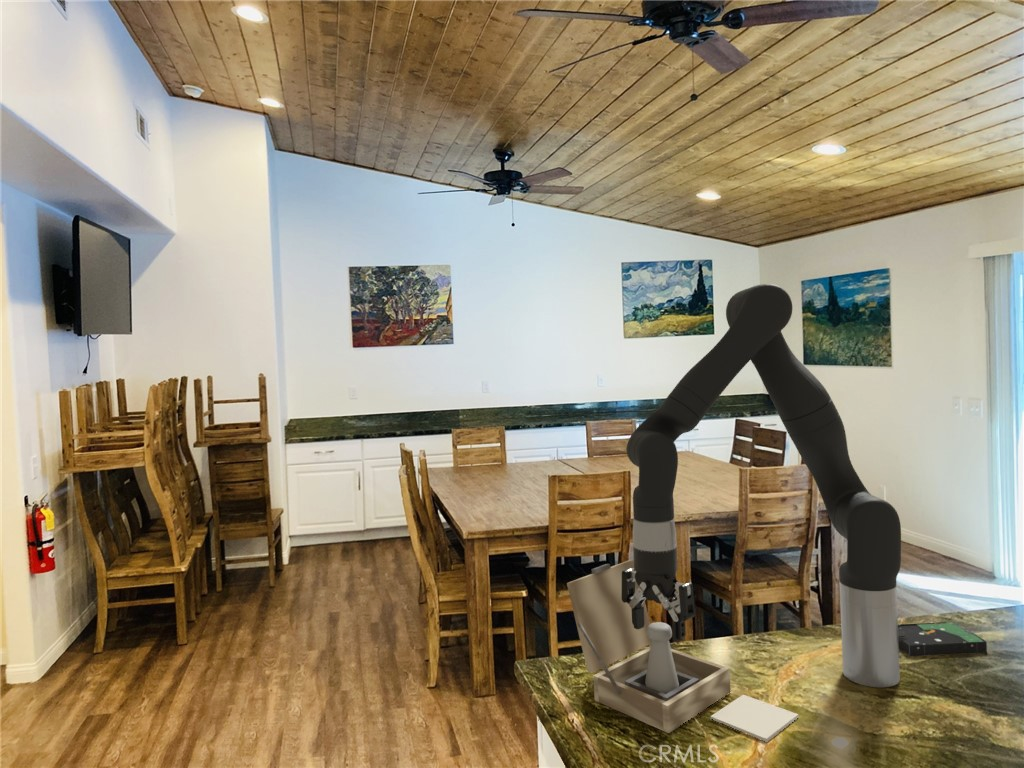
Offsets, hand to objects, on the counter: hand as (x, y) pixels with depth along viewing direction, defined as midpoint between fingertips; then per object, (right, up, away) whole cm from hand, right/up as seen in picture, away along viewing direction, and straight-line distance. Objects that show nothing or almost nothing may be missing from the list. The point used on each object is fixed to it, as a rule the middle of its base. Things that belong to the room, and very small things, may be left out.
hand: (658, 634), depth 125 cm
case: (0, -11, +1) cm, 11 cm away
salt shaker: (+1, -11, 0) cm, 12 cm away
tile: (+14, -11, -9) cm, 20 cm away
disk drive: (+58, -8, +15) cm, 60 cm away
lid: (-7, +2, +8) cm, 10 cm away
